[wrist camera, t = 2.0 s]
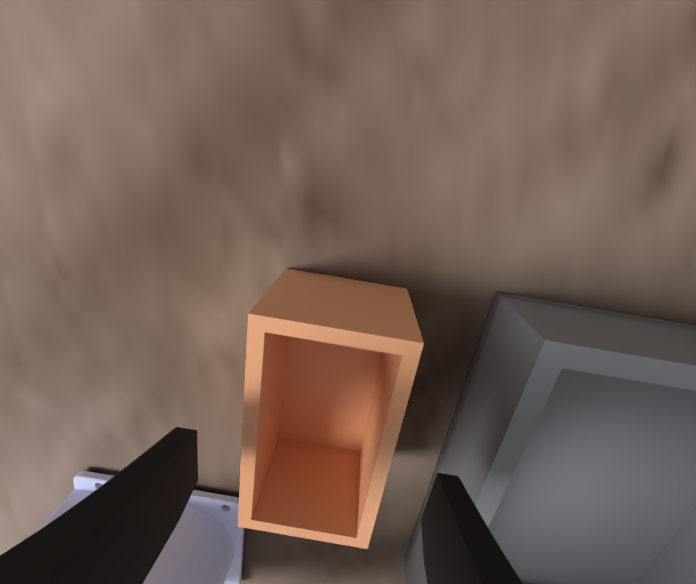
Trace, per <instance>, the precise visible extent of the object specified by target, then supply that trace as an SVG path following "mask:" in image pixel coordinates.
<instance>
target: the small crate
mask: <svg viewBox="0 0 696 584" xmlns="http://www.w3.org/2000/svg"><path fill="white" fill-rule="evenodd" d="M423 345H424V342H423V339H422V336H421V332H420V329H419V326H418V322H417V319H416V316H415V313H414V309H413V306H412V303H411V299H410V296H409V293H408V290H407V288H401V287H395V286H389V285H383V284H377V283H371V282H365V281H359V280H354V279H348V278H342V277H336V276H330V275H324V274H318V273H312V272H306V271H300V270H294V269H288V268H286V270H285V271H284V272H283V273H282V274H281V275H280V277H279V278H278V279H277V280H276V281H275V283H274V284H273V285H272V286H271V287H270V288H269V290H268V291H267V292H266V293H265V294H264V296H263V297H262V298H261V299H260V300H259V302H258V303H257V304H256V305H255V306H254V307H253V309H252V310H251V311H250V312H249V313H248V329H247V349H246V369H245V389H244V409H243V429H242V448H241V468H240V488H239V508H238V527H243V528H249V529H255V530H260V531H266V532H272V533H278V534H283V535H289V536H295V537H301V538H306V539H312V540H318V541H324V542H329V543H335V544H341V545H347V546H352V547H358V548H364V549H368V546H369V542H370V538H371V535H372V531H373V527H374V524H375V520H376V517H377V513H378V509H379V506H380V502H381V498H382V495H383V491H384V487H385V484H386V480H387V476H388V473H389V469H390V465H391V462H392V458H393V454H394V451H395V447H396V443H397V440H398V436H399V433H400V429H401V425H402V422H403V418H404V414H405V411H406V407H407V403H408V400H409V396H410V392H411V389H412V385H413V381H414V378H415V374H416V370H417V367H418V363H419V360H420V356H421V352H422V349H423Z"/></svg>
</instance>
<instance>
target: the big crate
mask: <svg viewBox="0 0 696 584" xmlns="http://www.w3.org/2000/svg"><path fill="white" fill-rule="evenodd" d="M437 473H443V474H449V475H454V476H458V477H459V478H460V480H461V481H462V483H463V485H464V487H465V488H466V490H467V492H468V494H469V496H470V497H471V499H472V501H473V503H474V504H475V506H476V508H477V509H478V511H479V513H480V515H481V516H482V518H483V520H484V521H485V523H486V525H487V527H488V528H489V530H490V532H491V533H492V535H493V537H494V538H495V540H496V542H497V543H498V545H499V546H500V548H501V550H502V551H503V553H504V554H505V556H506V558H507V559H508V561H509V562H510V564H511V566H512V567H513V569H514V570H515V572H516V574H517V575H518V577H519V578H520V580H521V581H522V583H523V584H696V325H690V324H684V323H678V322H672V321H667V320H661V319H655V318H649V317H643V316H637V315H631V314H625V313H619V312H613V311H607V310H601V309H595V308H590V307H584V306H578V305H572V304H566V303H560V302H554V301H548V300H542V299H536V298H530V297H524V296H519V295H513V294H507V293H501V292H495V295H494V298H493V301H492V304H491V307H490V310H489V313H488V316H487V319H486V322H485V325H484V327H483V330H482V333H481V336H480V339H479V342H478V345H477V348H476V351H475V354H474V357H473V360H472V363H471V365H470V368H469V371H468V374H467V377H466V380H465V383H464V386H463V389H462V392H461V395H460V398H459V401H458V403H457V406H456V409H455V412H454V415H453V418H452V421H451V424H450V427H449V430H448V433H447V436H446V439H445V441H444V444H443V447H442V450H441V453H440V456H439V459H438V462H437V465H436V468H435V471H434V474H433V477H432V479H431V482H430V485H429V488H428V491H427V494H426V497H425V500H424V503H423V506H422V509H421V512H420V514H419V517H418V520H417V523H416V526H415V529H414V532H413V535H412V538H411V541H410V544H409V547H408V550H407V552H406V555H405V569H406V580H407V584H427V579H426V573H425V566H424V558H423V544H422V527H421V518H422V515H423V512H424V509H425V507H426V504H427V501H428V498H429V495H430V492H431V490H432V487H433V484H434V481H435V478H436V475H437Z"/></svg>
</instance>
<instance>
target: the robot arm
mask: <svg viewBox="0 0 696 584" xmlns="http://www.w3.org/2000/svg"><path fill="white" fill-rule="evenodd" d="M197 481H198V460H197V430H191V429H185V428H180V427H176V428H175V429H173V430H172V431H171V432H169V433H168V434H167V435H166V436H164V437H163V438H162V439H161V440H159V441H158V442H157V443H156V444H154V445H153V446H152V447H151V448H149V449H148V450H147V451H146V452H144V453H143V454H142V455H141V456H139V457H138V458H137V459H136V460H134V461H133V462H132V463H130V464H129V465H128V466H127V467H125V468H124V469H123V470H121V471H120V472H119V473H117V474H116V475H115V476H112V475H106V474H100V473H94V472H89V471H81V472H79V473H78V474H77V475H76V476H75V478H74V479H73V482H74V487H75V490H74V491H73V492H72V493H71V494H70V495H69V496H68V497H67V498H66V499H65V500H64V502H63V503H62V504H61V505H60V506H59V507H58V508H57V509H56V510H55V511H54V512H53V513H52V515H51V516H50V517H49V518H48V519H47V520H46V521H45V522H44V523H43V524H42V525H41V526H40V527H39V529H38V530H37V531H36V532H35V533H34V534H33V535H31V536H30V537H28V538H27V539H25V540H24V541H22V542H21V543H19V544H18V545H16V546H14V547H13V548H11V549H10V550H8V551H7V552H5V553H3V554H2V555H0V584H241V576H242V560H243V544H244V528H243V527H238V508H239V498H238V497H233V496H227V495H221V494H216V493H210V492H204V491H198V490H194V488H195V485H196V483H197ZM421 527H422V544H423V558H424V566H425V573H426V579H427V584H523V583H522V581H521V580H520V578H519V577H518V575H517V574H516V572H515V570H514V569H513V567H512V566H511V564H510V562H509V561H508V559H507V558H506V556H505V554H504V553H503V551H502V550H501V548H500V546H499V545H498V543H497V542H496V540H495V538H494V537H493V535H492V533H491V532H490V530H489V528H488V527H487V525H486V523H485V521H484V520H483V518H482V516H481V515H480V513H479V511H478V509H477V508H476V506H475V504H474V503H473V501H472V499H471V497H470V496H469V494H468V492H467V490H466V488H465V487H464V485H463V483H462V481H461V480H460V478H459V477H458V476H454V475H449V474H443V473H437V475H436V478H435V481H434V484H433V487H432V490H431V492H430V495H429V498H428V501H427V504H426V507H425V509H424V512H423V515H422V518H421Z"/></svg>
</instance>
